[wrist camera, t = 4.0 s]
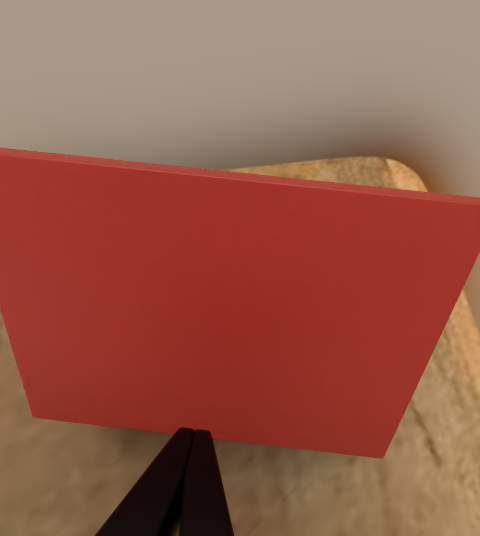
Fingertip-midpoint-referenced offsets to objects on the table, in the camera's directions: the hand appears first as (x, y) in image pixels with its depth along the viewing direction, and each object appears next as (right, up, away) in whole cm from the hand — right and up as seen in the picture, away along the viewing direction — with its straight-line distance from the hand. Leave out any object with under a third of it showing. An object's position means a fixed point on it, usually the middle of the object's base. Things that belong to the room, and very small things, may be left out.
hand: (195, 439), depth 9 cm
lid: (0, +3, +3) cm, 4 cm away
